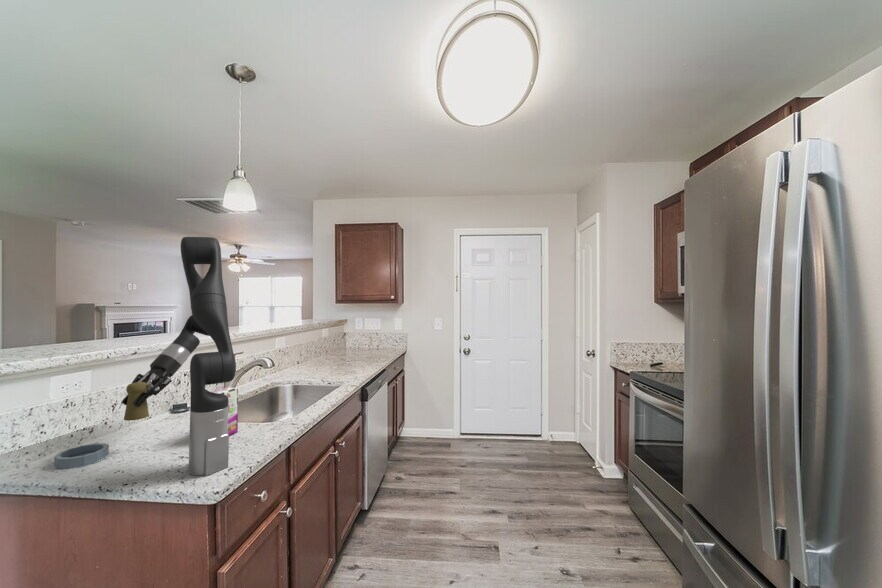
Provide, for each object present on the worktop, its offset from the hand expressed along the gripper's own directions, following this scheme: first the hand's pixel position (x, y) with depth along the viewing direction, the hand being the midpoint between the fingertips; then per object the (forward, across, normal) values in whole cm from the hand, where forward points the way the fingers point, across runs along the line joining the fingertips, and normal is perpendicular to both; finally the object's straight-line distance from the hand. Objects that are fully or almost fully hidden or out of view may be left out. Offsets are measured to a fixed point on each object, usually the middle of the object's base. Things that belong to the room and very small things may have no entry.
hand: (130, 404), depth 109 cm
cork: (+2, 0, +5) cm, 5 cm away
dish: (+16, -9, +6) cm, 19 cm away
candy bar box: (-3, +14, +25) cm, 29 cm away
